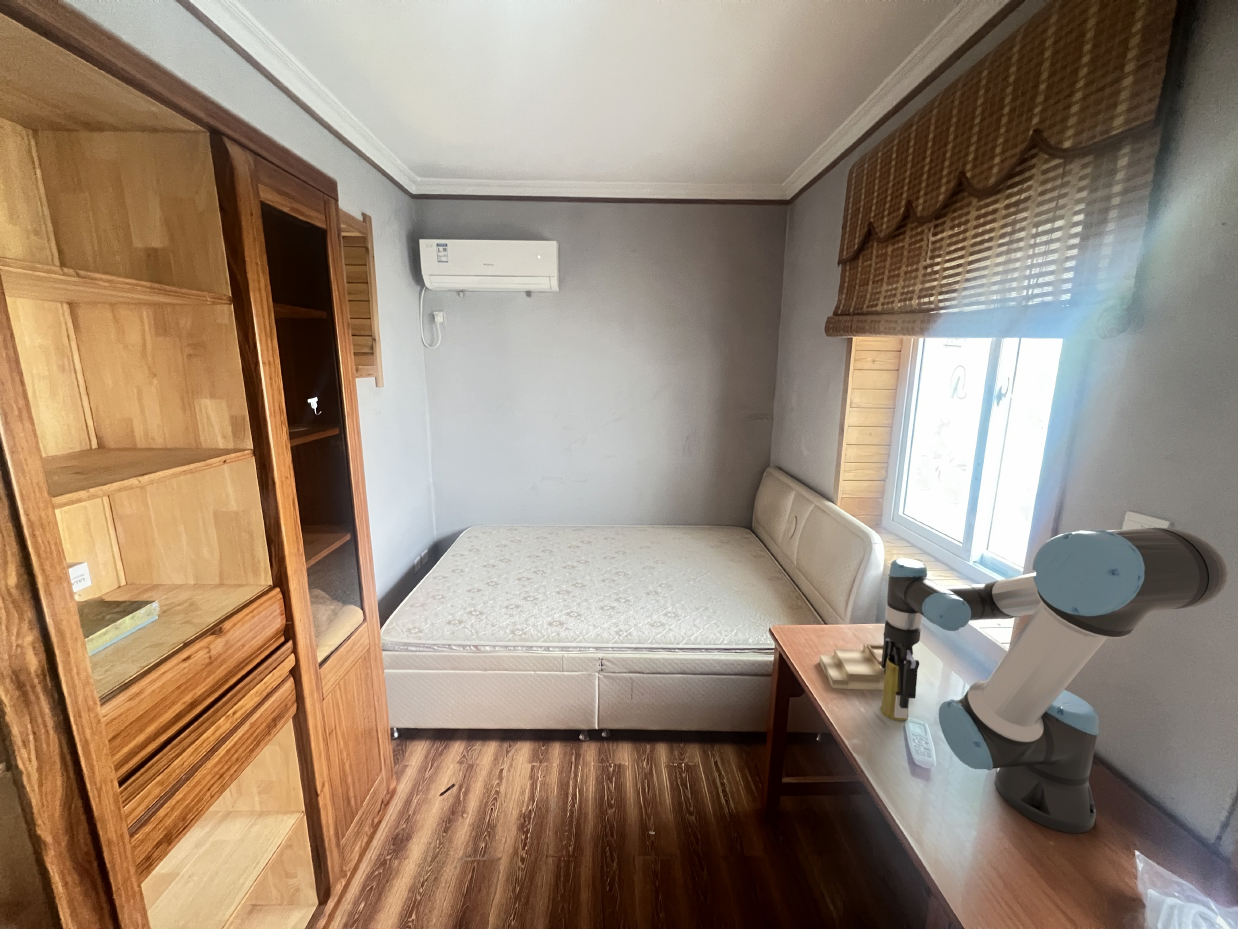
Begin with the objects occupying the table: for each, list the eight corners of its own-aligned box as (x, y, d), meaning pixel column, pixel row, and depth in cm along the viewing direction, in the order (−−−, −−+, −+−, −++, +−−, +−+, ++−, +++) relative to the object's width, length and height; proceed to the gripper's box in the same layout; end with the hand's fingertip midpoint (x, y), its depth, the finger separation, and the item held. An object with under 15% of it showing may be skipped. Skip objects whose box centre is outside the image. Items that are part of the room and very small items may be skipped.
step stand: (914, 691, 132) (916, 666, 131) (832, 688, 134) (834, 663, 133) (894, 665, 144) (896, 642, 142) (819, 662, 146) (820, 639, 144)
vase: (902, 725, 120) (908, 671, 117) (876, 712, 124) (880, 660, 122) (912, 713, 124) (917, 661, 121) (886, 701, 128) (890, 651, 126)
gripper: (940, 644, 110) (929, 736, 114) (901, 605, 128) (893, 685, 133) (904, 643, 111) (895, 734, 115) (871, 604, 129) (864, 684, 133)
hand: (894, 708), depth 124 cm, fingers closed on vase, 6 cm apart
